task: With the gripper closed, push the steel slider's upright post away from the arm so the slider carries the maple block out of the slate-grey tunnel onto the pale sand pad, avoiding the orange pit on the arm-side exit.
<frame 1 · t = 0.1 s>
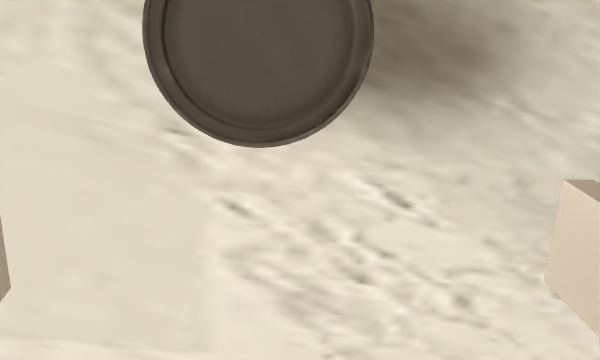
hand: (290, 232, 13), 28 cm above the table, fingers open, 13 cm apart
coffee can: (255, 16, 39), on the table
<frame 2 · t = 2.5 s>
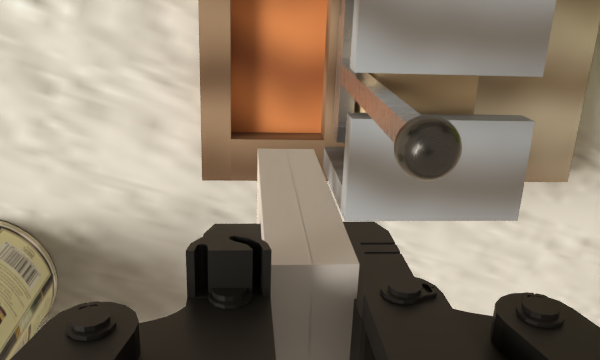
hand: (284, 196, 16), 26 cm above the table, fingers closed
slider: (445, 100, 29), point 13 cm above the table, slide at 0.0 cm
deck: (392, 64, 41), on the table
block: (401, 70, 39), point 2 cm above the table, touching deck
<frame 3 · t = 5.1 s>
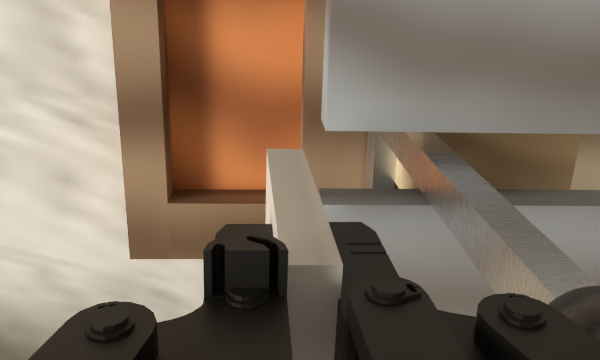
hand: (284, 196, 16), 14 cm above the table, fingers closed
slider: (561, 178, 17), point 13 cm above the table, slide at 2.5 cm, touching block, gripper, hand
deck: (398, 95, 29), on the table
block: (452, 106, 27), point 2 cm above the table, touching deck, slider
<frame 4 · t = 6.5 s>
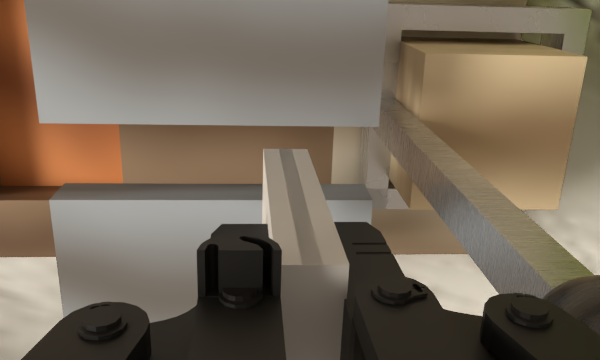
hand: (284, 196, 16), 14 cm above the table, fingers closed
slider: (554, 173, 18), point 13 cm above the table, slide at 10.8 cm, touching gripper, hand
deck: (229, 89, 29), on the table
block: (445, 102, 27), point 3 cm above the table
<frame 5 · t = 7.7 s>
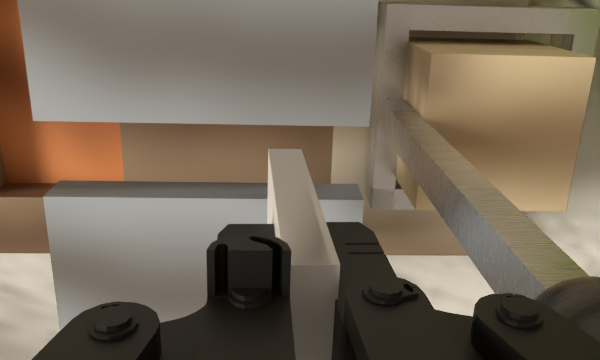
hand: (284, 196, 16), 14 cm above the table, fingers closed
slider: (559, 174, 17), point 13 cm above the table, slide at 11.2 cm, touching gripper, hand
deck: (230, 88, 29), on the table
block: (454, 103, 27), point 2 cm above the table, touching deck
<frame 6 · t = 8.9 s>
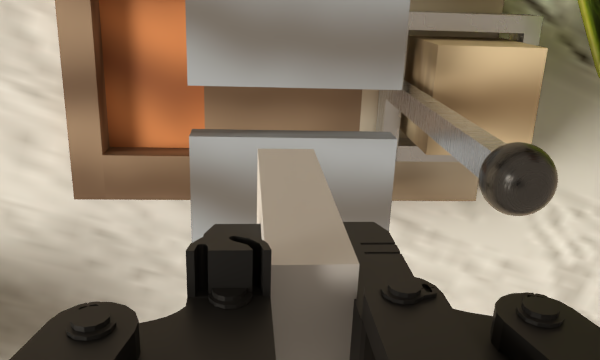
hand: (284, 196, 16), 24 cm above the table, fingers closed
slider: (510, 120, 27), point 13 cm above the table, slide at 10.5 cm
deck: (282, 74, 38), on the table
block: (449, 84, 37), point 2 cm above the table, touching deck
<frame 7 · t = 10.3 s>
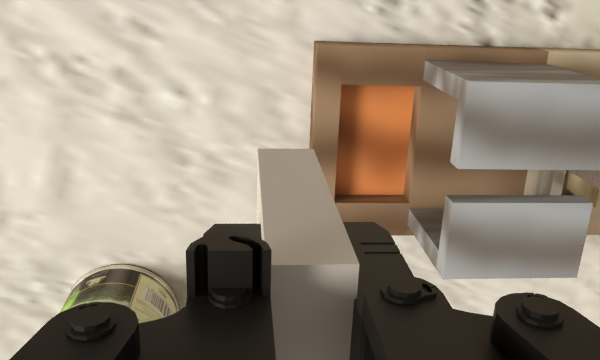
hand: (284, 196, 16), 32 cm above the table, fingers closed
deck: (463, 139, 50), on the table
block: (595, 148, 49), point 2 cm above the table, touching deck
coffee can: (124, 312, 53), on the table
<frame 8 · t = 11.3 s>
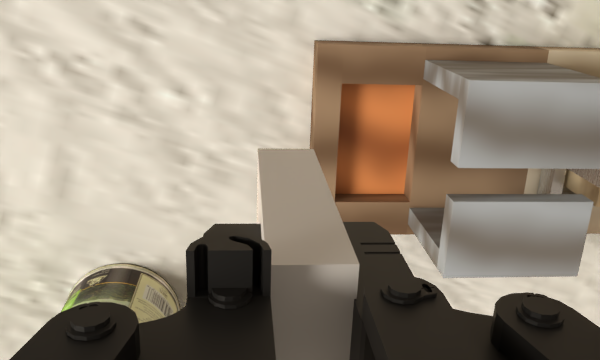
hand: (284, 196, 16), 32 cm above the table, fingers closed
deck: (463, 138, 50), on the table
block: (595, 147, 49), point 2 cm above the table, touching deck
coffee can: (125, 311, 53), on the table
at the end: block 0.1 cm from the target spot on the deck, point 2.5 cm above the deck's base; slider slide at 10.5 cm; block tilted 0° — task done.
